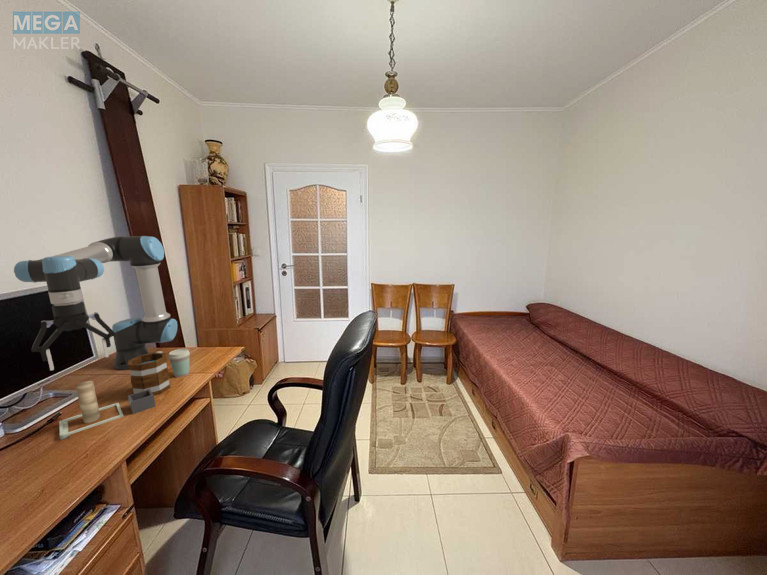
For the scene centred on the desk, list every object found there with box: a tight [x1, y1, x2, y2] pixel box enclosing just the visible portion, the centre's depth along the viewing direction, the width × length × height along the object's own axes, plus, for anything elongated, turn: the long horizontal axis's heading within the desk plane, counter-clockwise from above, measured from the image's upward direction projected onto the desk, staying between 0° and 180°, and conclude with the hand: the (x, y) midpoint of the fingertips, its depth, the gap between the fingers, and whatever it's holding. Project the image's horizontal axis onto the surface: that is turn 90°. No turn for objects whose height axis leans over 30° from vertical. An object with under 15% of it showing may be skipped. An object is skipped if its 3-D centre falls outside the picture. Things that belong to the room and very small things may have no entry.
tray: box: [58, 402, 124, 441], centre depth 109 cm, size 12×16×1 cm
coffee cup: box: [167, 348, 191, 378], centre depth 142 cm, size 9×8×12 cm
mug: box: [128, 350, 171, 397], centre depth 131 cm, size 20×14×15 cm
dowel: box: [75, 380, 101, 424], centre depth 108 cm, size 4×4×14 cm
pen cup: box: [127, 389, 156, 415], centre depth 117 cm, size 7×7×6 cm
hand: (80, 362), depth 106 cm, fingers open, 13 cm apart
